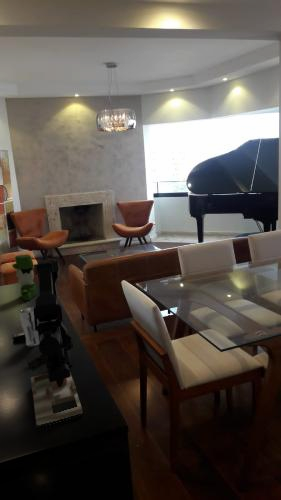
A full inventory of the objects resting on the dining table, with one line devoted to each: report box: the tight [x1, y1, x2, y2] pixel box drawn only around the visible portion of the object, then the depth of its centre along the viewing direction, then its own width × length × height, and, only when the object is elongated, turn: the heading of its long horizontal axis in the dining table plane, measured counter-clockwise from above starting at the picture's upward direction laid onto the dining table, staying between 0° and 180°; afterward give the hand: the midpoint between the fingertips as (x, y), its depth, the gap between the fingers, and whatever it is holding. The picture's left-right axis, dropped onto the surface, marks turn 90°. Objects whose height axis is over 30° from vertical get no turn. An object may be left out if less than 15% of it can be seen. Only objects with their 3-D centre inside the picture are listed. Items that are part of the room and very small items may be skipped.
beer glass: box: [19, 306, 39, 348], centre depth 160 cm, size 7×7×15 cm
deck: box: [30, 372, 84, 426], centre depth 119 cm, size 23×13×4 cm, turn 19°
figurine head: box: [12, 254, 38, 302], centre depth 225 cm, size 22×12×25 cm, turn 10°
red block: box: [51, 378, 67, 387], centre depth 126 cm, size 5×5×4 cm
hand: (60, 386), depth 120 cm, fingers closed
